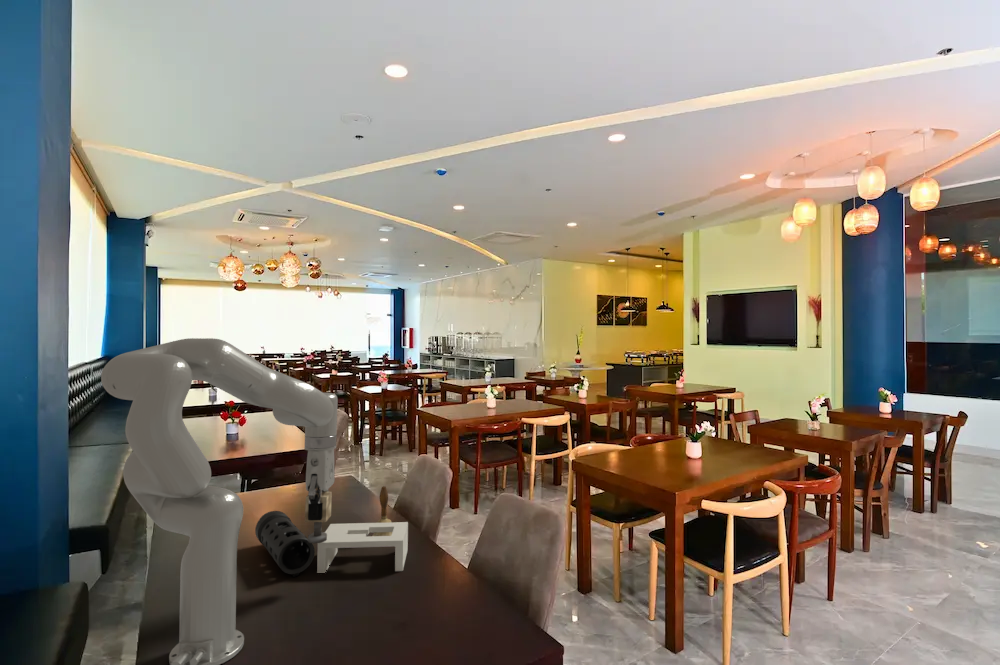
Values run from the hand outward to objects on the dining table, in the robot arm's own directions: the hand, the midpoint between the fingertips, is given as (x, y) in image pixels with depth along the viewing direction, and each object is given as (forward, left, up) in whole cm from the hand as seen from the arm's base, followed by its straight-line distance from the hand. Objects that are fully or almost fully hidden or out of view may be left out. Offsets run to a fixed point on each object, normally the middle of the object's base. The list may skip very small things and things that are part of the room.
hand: (318, 515), depth 127 cm
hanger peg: (0, 0, -6) cm, 6 cm away
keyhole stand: (+14, -9, -17) cm, 24 cm away
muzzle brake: (+17, +14, -18) cm, 28 cm away
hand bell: (+30, -12, -17) cm, 36 cm away
